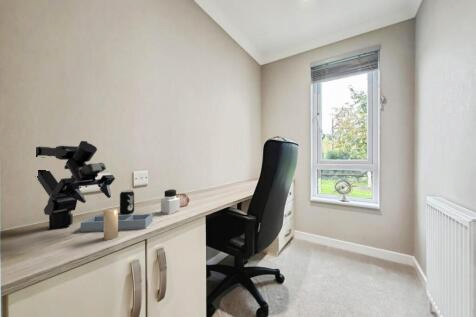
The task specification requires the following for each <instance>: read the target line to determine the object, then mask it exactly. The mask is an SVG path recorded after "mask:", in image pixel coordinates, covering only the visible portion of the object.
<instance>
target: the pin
mask: <svg viewBox="0 0 476 317" xmlns="http://www.w3.org/2000/svg"><path fill="white" fill-rule="evenodd" d="M118 215H119V208H108V209H105V210H103V216H104V231H103V240H104V241H110V240H114V239H115V240H116V239H117V238H118V237H119V230H118Z"/></svg>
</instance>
